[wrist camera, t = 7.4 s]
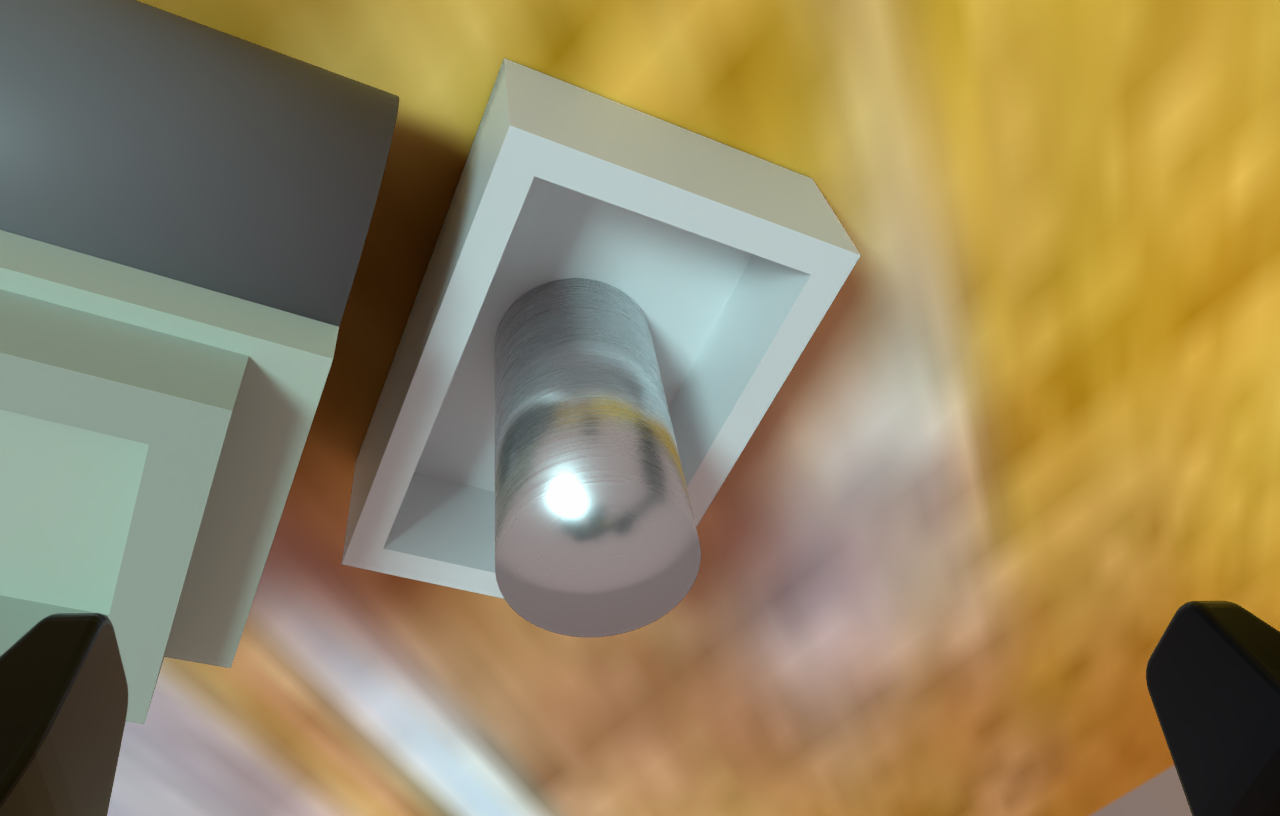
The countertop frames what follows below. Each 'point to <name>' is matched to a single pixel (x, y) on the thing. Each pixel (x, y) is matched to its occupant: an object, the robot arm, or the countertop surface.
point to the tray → (599, 250)
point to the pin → (586, 466)
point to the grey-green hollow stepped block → (164, 313)
